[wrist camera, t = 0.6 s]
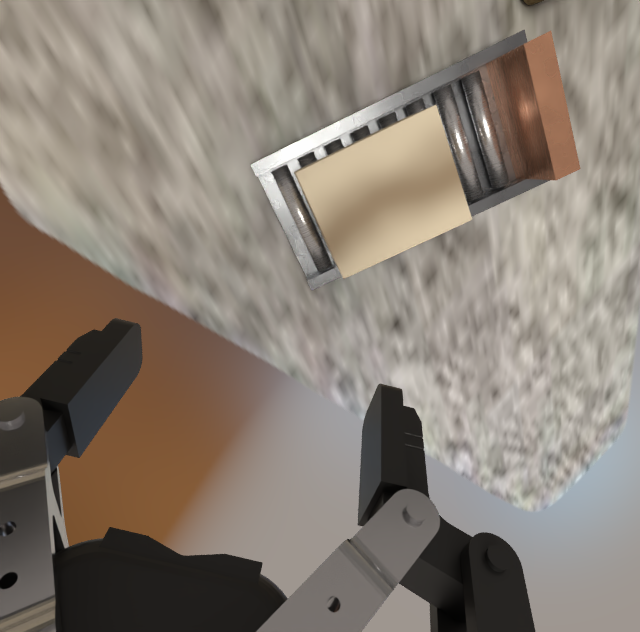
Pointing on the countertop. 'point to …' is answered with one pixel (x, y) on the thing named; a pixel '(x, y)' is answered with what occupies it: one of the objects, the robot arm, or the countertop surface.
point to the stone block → (532, 1)
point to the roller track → (462, 135)
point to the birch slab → (385, 192)
